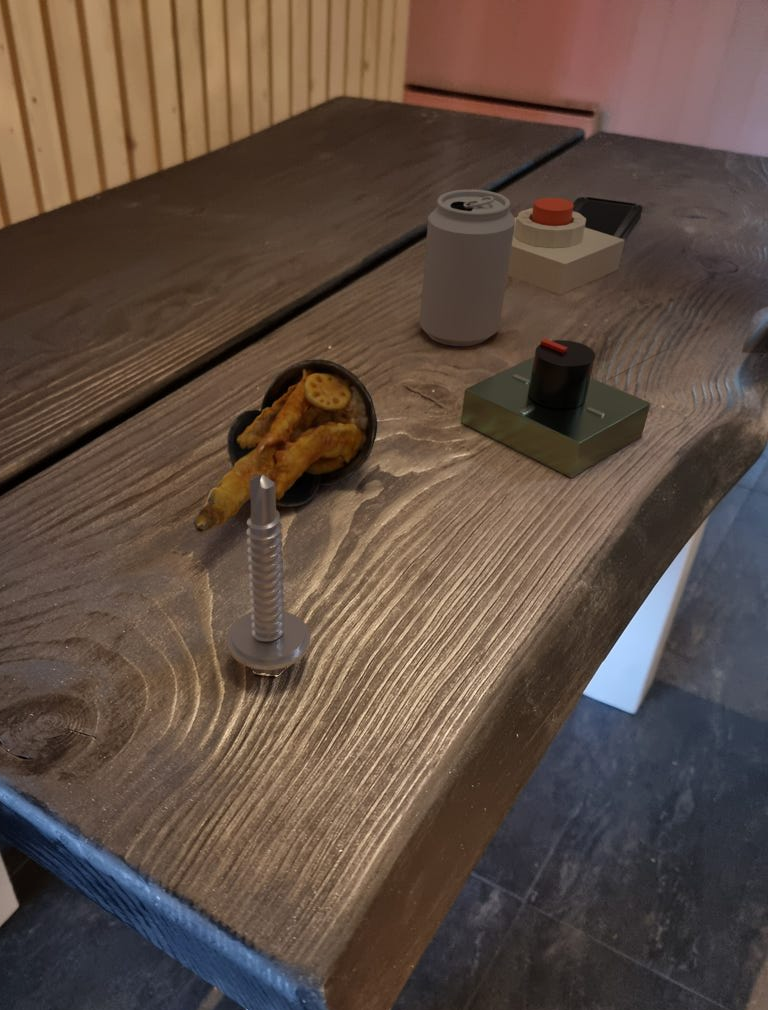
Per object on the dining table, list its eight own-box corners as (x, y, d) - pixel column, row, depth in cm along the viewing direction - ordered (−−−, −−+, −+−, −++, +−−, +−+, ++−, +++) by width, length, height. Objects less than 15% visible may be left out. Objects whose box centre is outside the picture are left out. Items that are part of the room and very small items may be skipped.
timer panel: (641, 437, 73) (651, 400, 71) (571, 478, 69) (579, 441, 66) (531, 387, 79) (537, 352, 77) (460, 422, 75) (464, 387, 73)
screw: (303, 696, 52) (220, 687, 53) (315, 639, 56) (237, 631, 57) (302, 505, 44) (203, 497, 44) (317, 452, 47) (225, 445, 48)
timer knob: (597, 396, 72) (608, 349, 69) (562, 414, 70) (572, 367, 67) (551, 376, 74) (560, 330, 72) (516, 393, 72) (524, 347, 69)
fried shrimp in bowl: (417, 393, 69) (351, 436, 53) (344, 512, 74) (266, 583, 59) (315, 327, 70) (221, 350, 54) (251, 450, 75) (148, 503, 59)
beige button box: (618, 270, 98) (629, 221, 95) (559, 296, 93) (568, 245, 90) (528, 240, 105) (536, 193, 101) (469, 262, 100) (475, 214, 97)
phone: (644, 204, 109) (615, 245, 100) (642, 214, 110) (613, 256, 100) (578, 195, 112) (544, 234, 102) (576, 205, 113) (542, 245, 103)
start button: (578, 221, 96) (581, 204, 94) (554, 231, 94) (557, 213, 93) (547, 212, 98) (550, 194, 97) (523, 221, 96) (526, 203, 95)
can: (411, 318, 90) (422, 186, 82) (487, 314, 90) (505, 183, 82) (426, 352, 84) (439, 214, 76) (507, 348, 85) (528, 211, 77)
